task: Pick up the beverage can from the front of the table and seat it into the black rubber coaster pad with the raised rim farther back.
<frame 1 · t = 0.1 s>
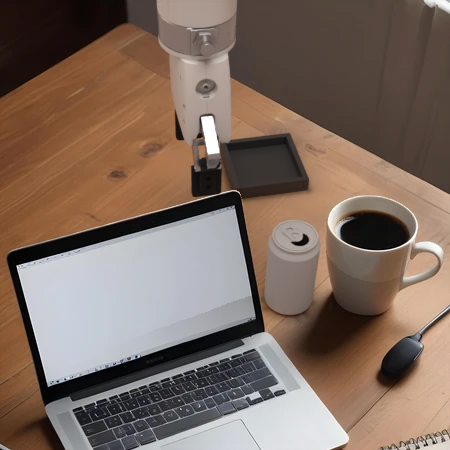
hand: (197, 165, 93), 22 cm above the table, tool pointing down, fingers open, 9 cm apart
beverage can: (287, 301, 111), on the table
coaster: (262, 170, 127), on the table
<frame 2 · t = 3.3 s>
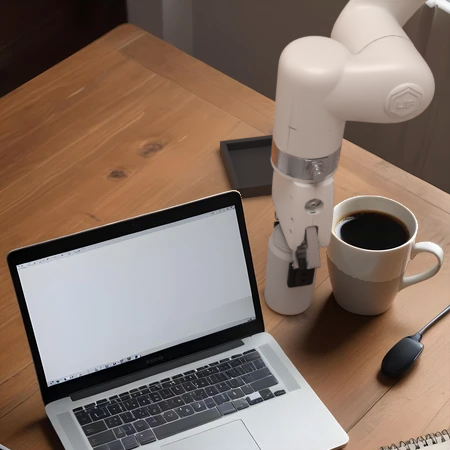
hand: (292, 263, 105), 7 cm above the table, tool pointing down, fingers closed on beverage can, 6 cm apart
beverage can: (287, 301, 111), on the table, touching gripper
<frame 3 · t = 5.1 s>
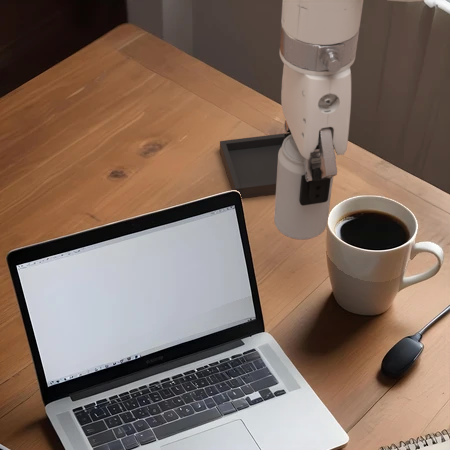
hand: (304, 180, 95), 20 cm above the table, tool pointing down, fingers closed on beverage can, 6 cm apart
beverage can: (299, 226, 101), point 13 cm above the table, touching gripper
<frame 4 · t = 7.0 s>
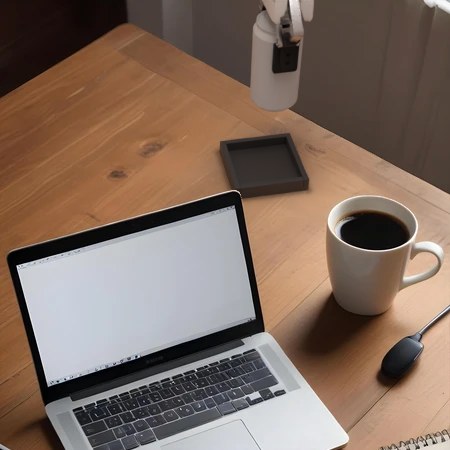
hand: (277, 54, 107), 22 cm above the table, tool pointing down, fingers closed on beverage can, 6 cm apart
beverage can: (273, 102, 113), point 15 cm above the table, touching gripper
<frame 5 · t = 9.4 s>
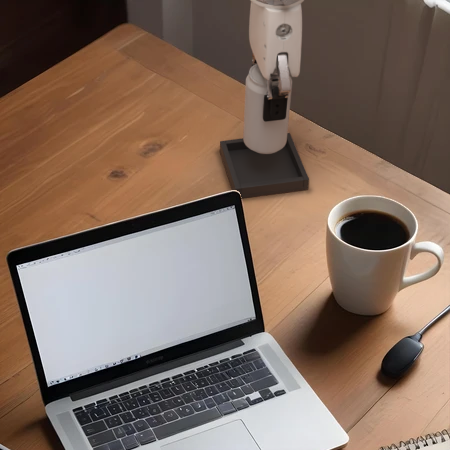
hand: (267, 102, 117), 12 cm above the table, tool pointing down, fingers closed on beverage can, 6 cm apart
beverage can: (264, 144, 123), point 5 cm above the table, touching gripper
when the fingers open (8 cm above the table, at t = 11.2 s): beverage can stays where it is, resting on coaster.
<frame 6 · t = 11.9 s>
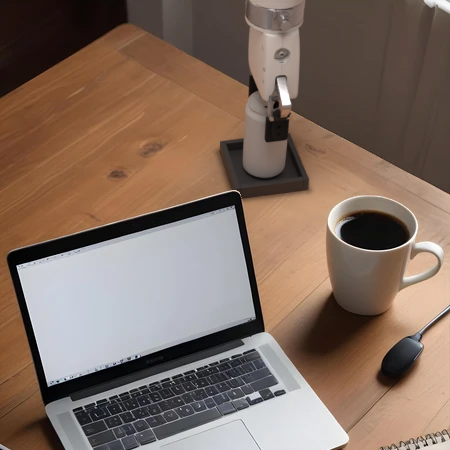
hand: (267, 119, 119), 10 cm above the table, tool pointing down, fingers open, 9 cm apart
beverage can: (263, 168, 126), resting on coaster
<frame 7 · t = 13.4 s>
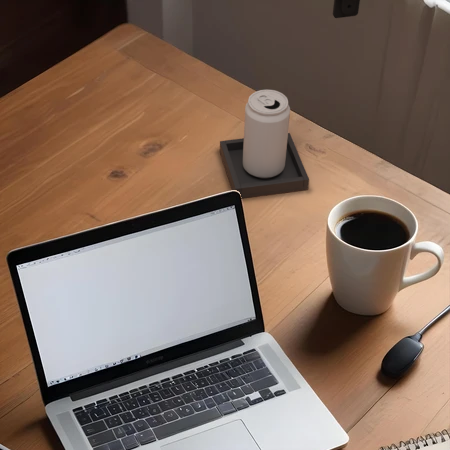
nothing on the table moved.
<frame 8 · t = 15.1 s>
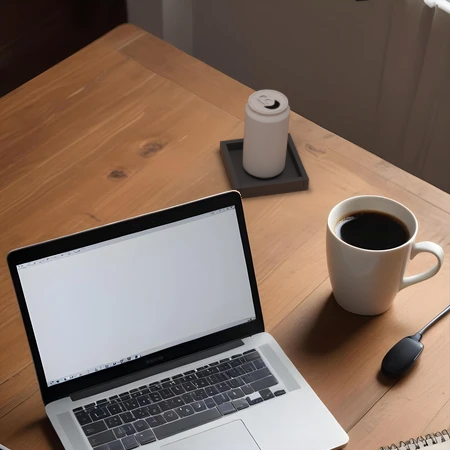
nothing on the table moved.
at the end: beverage can 0.0 cm off-centre in the coaster, point 0.4 cm above the coaster's base; beverage can tilted 0°; the gripper is holding nothing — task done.
